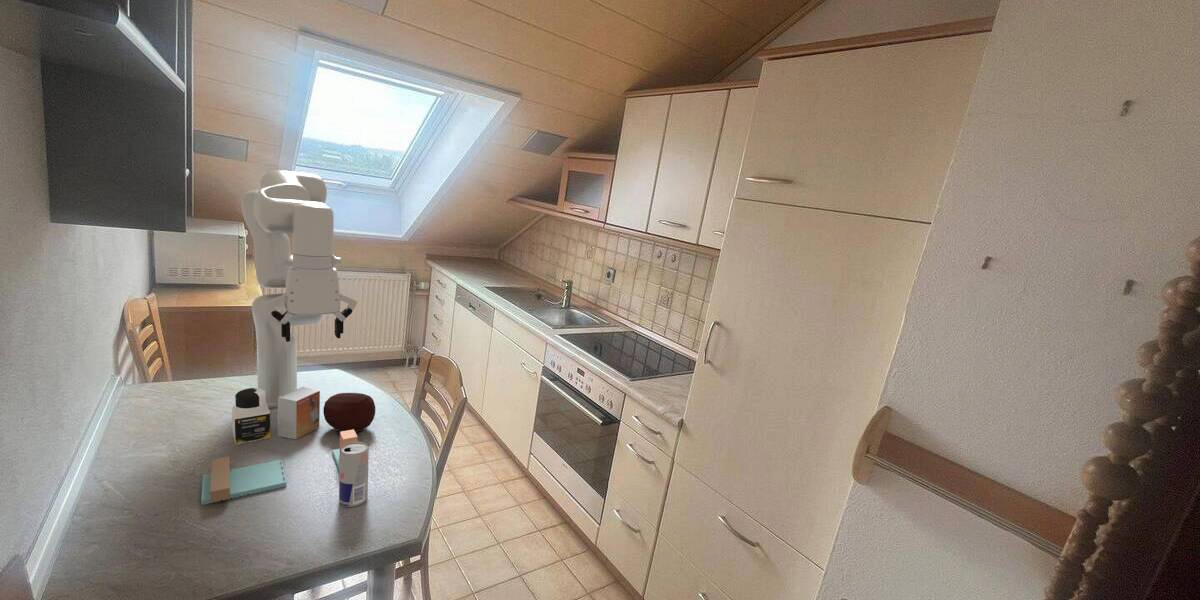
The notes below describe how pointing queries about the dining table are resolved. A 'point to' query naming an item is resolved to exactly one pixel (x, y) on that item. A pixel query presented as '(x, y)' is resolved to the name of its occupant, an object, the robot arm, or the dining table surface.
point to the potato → (349, 411)
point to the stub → (344, 443)
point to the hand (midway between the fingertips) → (313, 338)
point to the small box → (298, 412)
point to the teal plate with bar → (240, 480)
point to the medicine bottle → (251, 416)
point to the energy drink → (353, 474)
